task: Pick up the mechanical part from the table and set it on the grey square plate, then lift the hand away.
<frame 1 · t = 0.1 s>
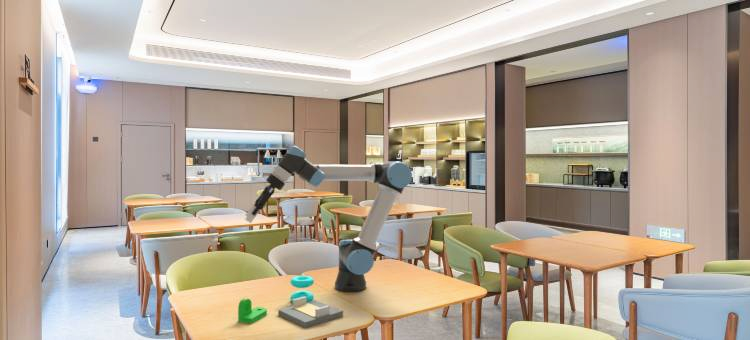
hand: (247, 219, 186), 36 cm above the table, tool tilted 35°, fingers open, 13 cm apart
donuts: (301, 301, 192), on the table
grey square plate: (310, 315, 174), on the table
mechanical part: (254, 318, 172), on the table
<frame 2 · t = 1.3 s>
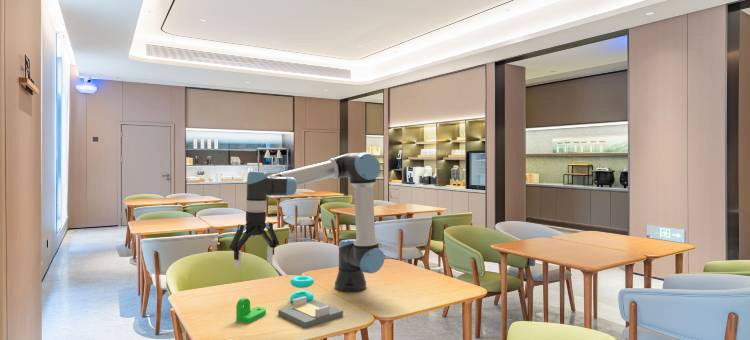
hand: (254, 265, 172), 20 cm above the table, tool pointing down, fingers open, 13 cm apart
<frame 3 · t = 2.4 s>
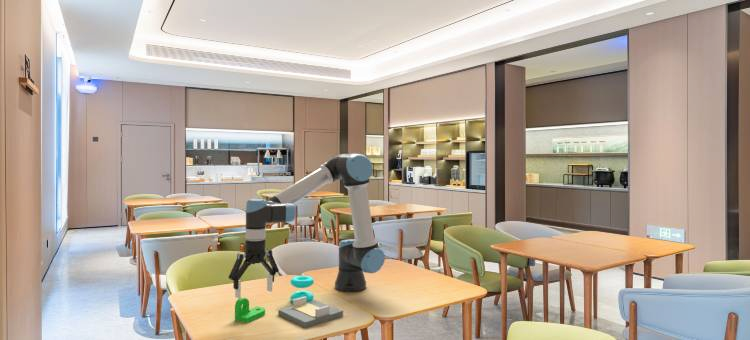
hand: (254, 294, 171), 9 cm above the table, tool pointing down, fingers open, 13 cm apart
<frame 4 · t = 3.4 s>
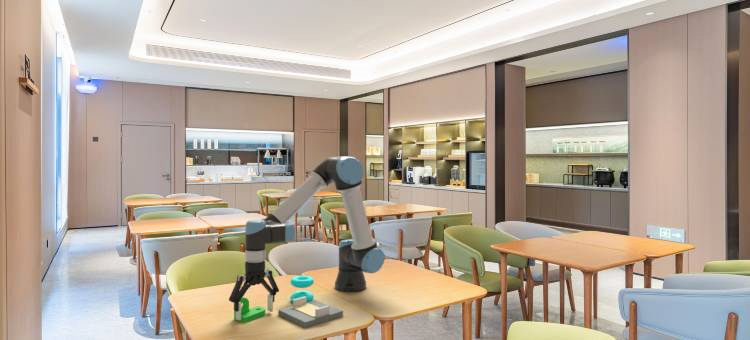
hand: (254, 315, 172), 1 cm above the table, tool pointing down, fingers open, 13 cm apart
mechanical part: (251, 317, 173), on the table, touching gripper
everything else where it was.
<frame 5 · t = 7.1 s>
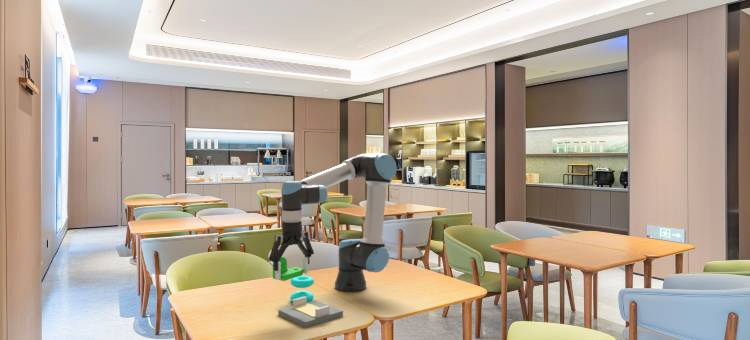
hand: (291, 275, 173), 16 cm above the table, tool pointing down, fingers closed on mechanical part, 12 cm apart
mechanical part: (289, 276, 175), point 15 cm above the table, touching gripper
everything else where it was.
when the fingers open (4 cm above the table, at t = 10.4 s): mechanical part stays where it is, resting on grey square plate.
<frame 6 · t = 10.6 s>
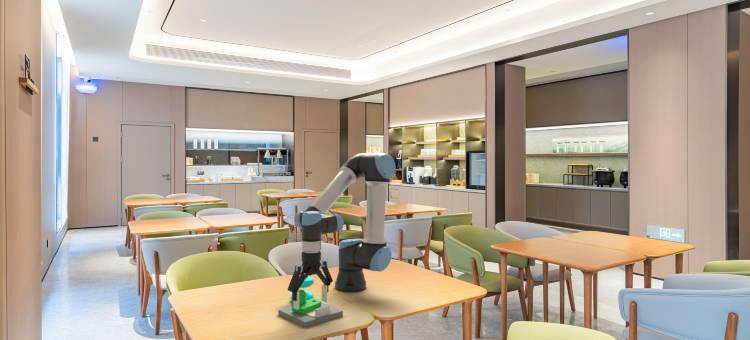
hand: (310, 304, 174), 4 cm above the table, tool pointing down, fingers open, 13 cm apart
mechanical part: (308, 308, 176), point 2 cm above the table, touching grey square plate
everything else where it was.
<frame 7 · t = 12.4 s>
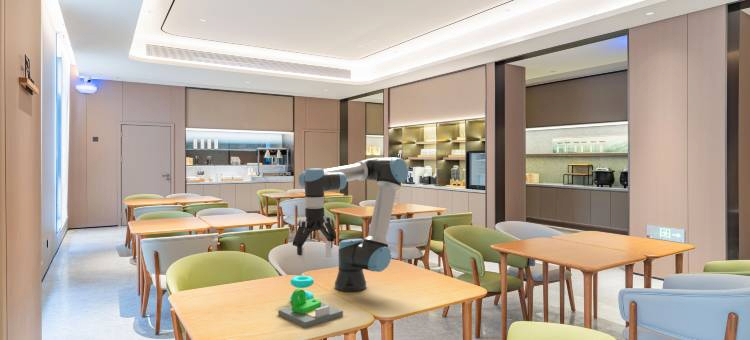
hand: (315, 260, 177), 21 cm above the table, tool pointing down, fingers open, 13 cm apart
nothing on the table moved.
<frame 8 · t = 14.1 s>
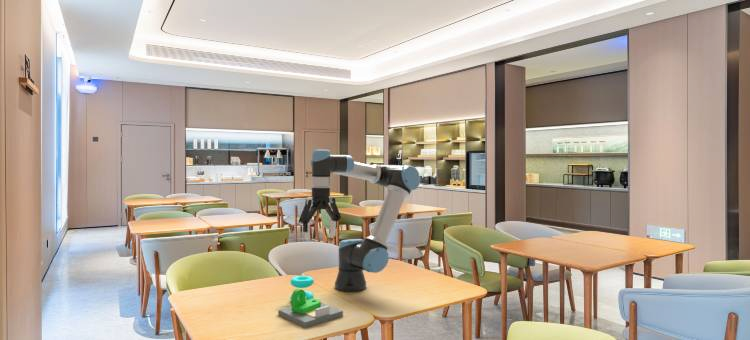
hand: (320, 238, 184), 29 cm above the table, tool pointing down, fingers open, 13 cm apart
nothing on the table moved.
at the end: mechanical part 1.9 cm off-centre on the grey square plate, point 2.1 cm above the grey square plate's base; mechanical part tilted 0°; the gripper is holding nothing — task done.
